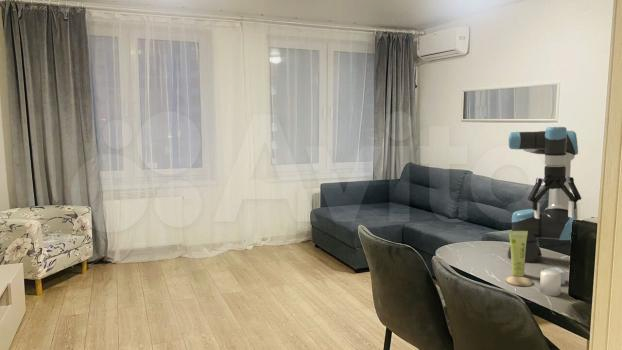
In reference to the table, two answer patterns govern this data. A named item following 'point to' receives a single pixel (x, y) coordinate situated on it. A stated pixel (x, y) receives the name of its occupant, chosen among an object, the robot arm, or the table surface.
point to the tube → (518, 251)
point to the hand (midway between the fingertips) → (553, 217)
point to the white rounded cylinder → (550, 282)
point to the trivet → (519, 281)
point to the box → (558, 271)
